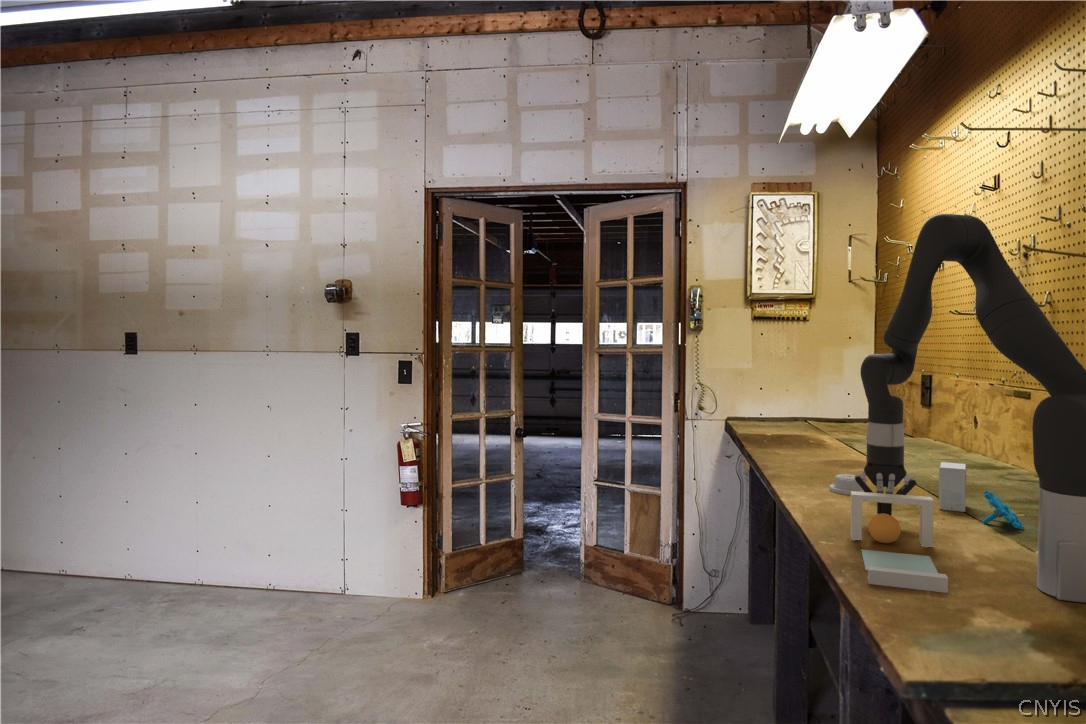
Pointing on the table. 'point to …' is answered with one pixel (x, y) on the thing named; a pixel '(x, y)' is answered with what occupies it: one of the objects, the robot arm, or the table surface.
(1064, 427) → the robot arm
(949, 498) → the small box
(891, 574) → the stopper wall
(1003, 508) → the blue branched figurine
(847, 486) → the mechanical component
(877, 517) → the ball
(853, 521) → the bridge
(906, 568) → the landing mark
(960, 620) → the table surface
